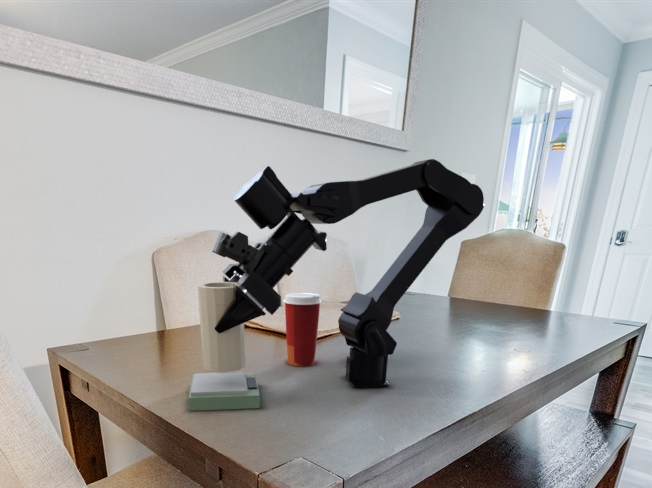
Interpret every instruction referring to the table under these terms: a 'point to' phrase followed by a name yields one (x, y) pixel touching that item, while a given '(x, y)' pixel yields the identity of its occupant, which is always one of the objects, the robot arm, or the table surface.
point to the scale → (223, 391)
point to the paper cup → (301, 327)
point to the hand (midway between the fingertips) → (213, 326)
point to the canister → (217, 347)
